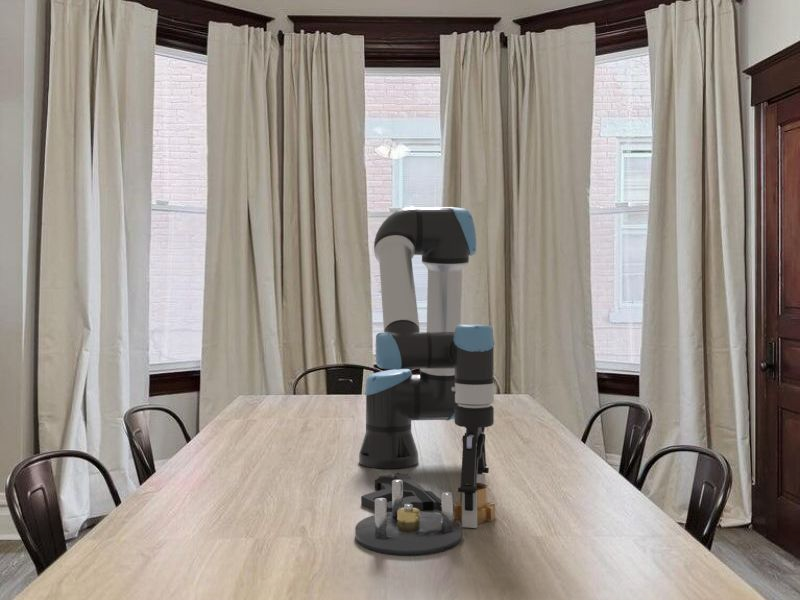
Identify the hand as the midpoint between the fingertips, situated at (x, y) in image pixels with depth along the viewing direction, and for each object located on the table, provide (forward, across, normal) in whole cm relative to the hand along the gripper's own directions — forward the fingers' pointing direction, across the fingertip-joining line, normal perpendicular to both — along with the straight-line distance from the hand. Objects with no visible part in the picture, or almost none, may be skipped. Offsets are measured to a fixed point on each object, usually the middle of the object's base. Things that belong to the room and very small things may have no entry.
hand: (474, 516), depth 136 cm
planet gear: (0, 0, 0) cm, 0 cm away
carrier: (0, +13, -10) cm, 16 cm away
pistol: (+1, -10, -19) cm, 21 cm away
